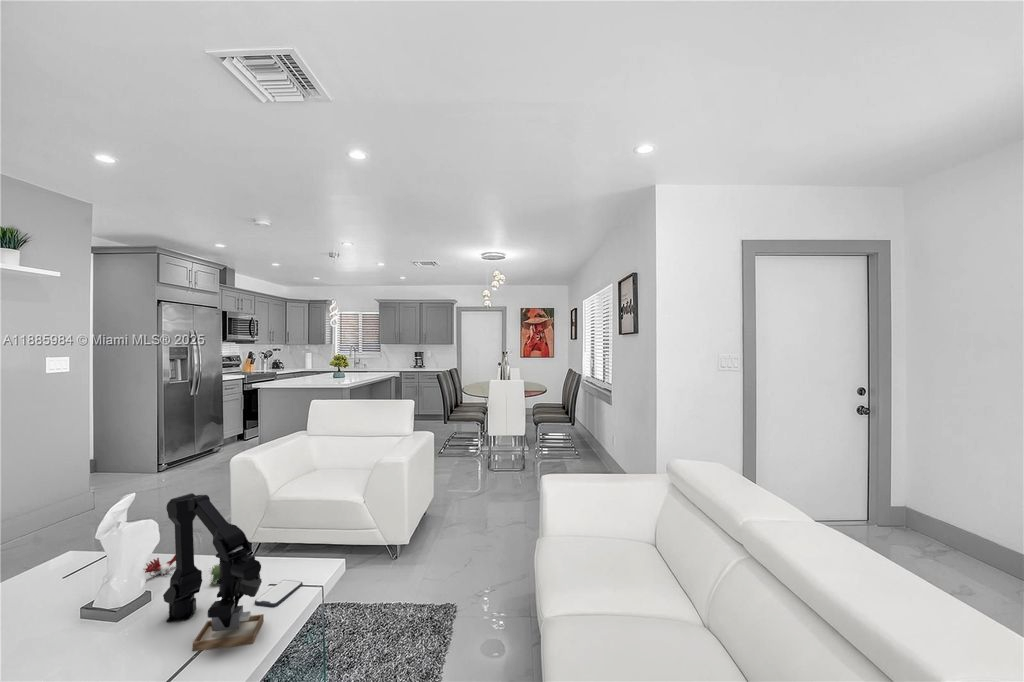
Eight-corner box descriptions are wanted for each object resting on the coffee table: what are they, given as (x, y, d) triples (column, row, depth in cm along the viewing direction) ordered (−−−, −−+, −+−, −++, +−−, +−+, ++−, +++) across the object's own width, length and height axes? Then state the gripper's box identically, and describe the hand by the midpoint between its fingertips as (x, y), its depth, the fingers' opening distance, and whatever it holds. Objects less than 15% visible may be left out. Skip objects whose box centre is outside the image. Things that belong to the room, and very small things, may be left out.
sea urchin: (207, 597, 166) (208, 576, 166) (191, 587, 172) (191, 567, 172) (242, 582, 176) (242, 562, 176) (225, 573, 182) (225, 554, 182)
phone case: (283, 583, 177) (252, 606, 161) (283, 579, 177) (252, 601, 161) (304, 586, 176) (275, 609, 160) (304, 581, 176) (275, 604, 160)
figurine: (171, 562, 191) (171, 546, 191) (191, 567, 187) (191, 551, 187) (130, 579, 177) (130, 562, 177) (150, 585, 173) (150, 567, 173)
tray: (192, 651, 137) (192, 643, 137) (207, 628, 148) (207, 620, 148) (253, 643, 141) (253, 635, 141) (263, 621, 152) (263, 614, 152)
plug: (209, 632, 142) (209, 615, 142) (214, 624, 146) (214, 608, 146) (247, 627, 144) (247, 611, 144) (251, 620, 148) (251, 604, 148)
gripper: (249, 585, 138) (249, 638, 138) (267, 556, 156) (266, 603, 156) (207, 589, 135) (206, 643, 135) (229, 559, 153) (229, 607, 153)
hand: (229, 623), depth 145 cm, fingers closed on plug, 4 cm apart
